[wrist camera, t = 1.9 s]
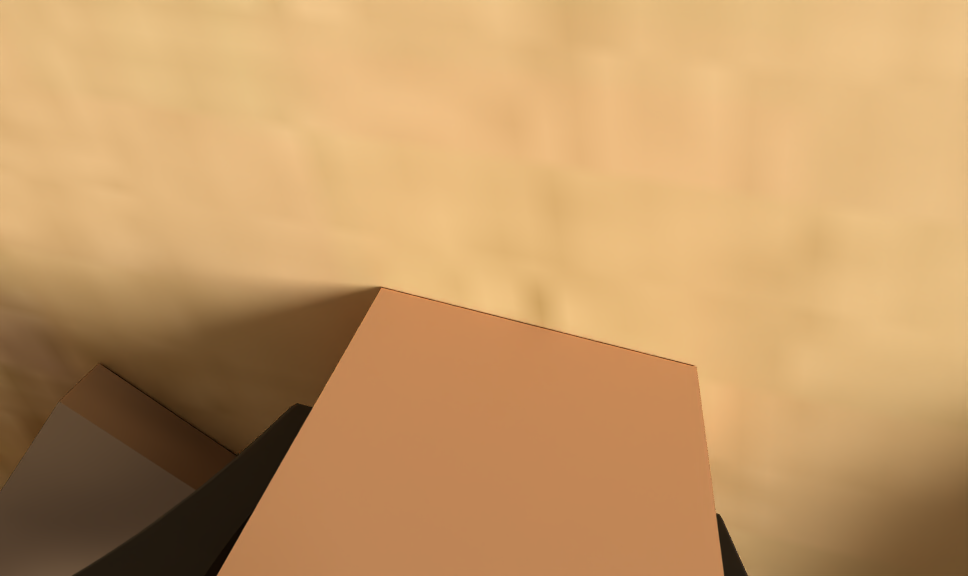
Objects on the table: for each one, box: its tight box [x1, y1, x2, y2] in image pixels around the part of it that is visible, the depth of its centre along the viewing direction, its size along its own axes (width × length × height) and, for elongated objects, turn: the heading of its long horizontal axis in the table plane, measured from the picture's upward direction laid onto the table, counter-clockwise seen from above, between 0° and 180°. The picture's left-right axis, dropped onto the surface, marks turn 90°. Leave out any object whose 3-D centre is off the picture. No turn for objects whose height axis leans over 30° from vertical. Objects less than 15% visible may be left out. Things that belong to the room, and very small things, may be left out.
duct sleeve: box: [217, 288, 724, 576], centre depth 11 cm, size 6×6×6 cm
